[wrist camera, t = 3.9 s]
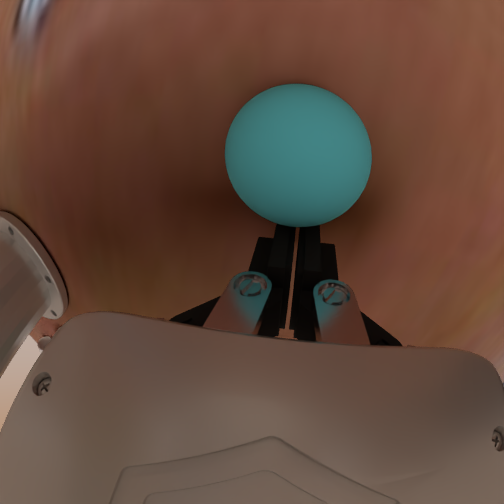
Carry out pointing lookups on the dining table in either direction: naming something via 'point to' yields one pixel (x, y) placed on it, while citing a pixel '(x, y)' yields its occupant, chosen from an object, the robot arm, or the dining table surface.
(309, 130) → the ball
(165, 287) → the dining table surface
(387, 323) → the dining table surface
